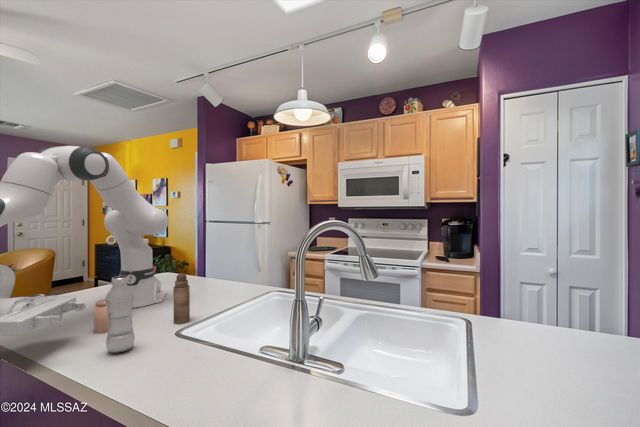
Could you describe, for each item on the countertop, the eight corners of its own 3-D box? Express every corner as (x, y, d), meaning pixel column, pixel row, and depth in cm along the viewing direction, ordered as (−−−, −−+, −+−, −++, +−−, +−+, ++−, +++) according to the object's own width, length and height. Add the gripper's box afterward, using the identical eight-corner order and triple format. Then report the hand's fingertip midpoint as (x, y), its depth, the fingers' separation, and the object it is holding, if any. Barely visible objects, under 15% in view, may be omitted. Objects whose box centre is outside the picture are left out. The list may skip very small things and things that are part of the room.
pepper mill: (176, 319, 105) (176, 271, 105) (191, 318, 106) (191, 271, 105) (171, 324, 100) (171, 274, 100) (187, 323, 101) (187, 274, 100)
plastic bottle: (121, 357, 78) (120, 280, 77) (99, 354, 79) (98, 279, 79) (140, 346, 84) (140, 275, 84) (120, 344, 85) (119, 274, 85)
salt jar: (100, 327, 98) (100, 299, 98) (118, 326, 99) (118, 298, 99) (89, 334, 92) (89, 304, 92) (109, 332, 93) (109, 303, 93)
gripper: (-27, 317, 67) (43, 314, 69) (42, 292, 87) (95, 290, 90) (-26, 345, 67) (43, 341, 69) (43, 313, 87) (95, 311, 90)
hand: (73, 312), depth 80 cm, fingers open, 8 cm apart
